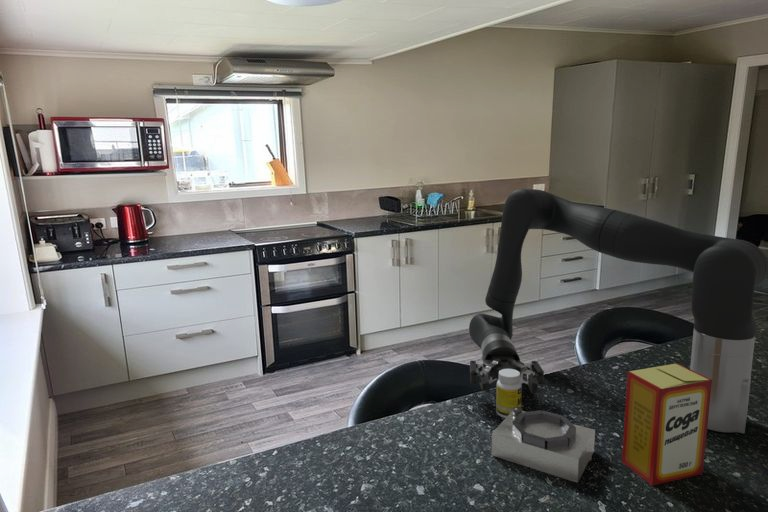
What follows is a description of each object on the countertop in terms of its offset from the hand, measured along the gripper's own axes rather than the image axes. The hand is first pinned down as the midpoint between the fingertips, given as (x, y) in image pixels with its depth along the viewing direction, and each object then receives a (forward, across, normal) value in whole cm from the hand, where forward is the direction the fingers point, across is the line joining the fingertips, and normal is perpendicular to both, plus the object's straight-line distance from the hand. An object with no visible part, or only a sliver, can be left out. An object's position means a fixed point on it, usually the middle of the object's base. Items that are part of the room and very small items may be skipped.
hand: (510, 388), depth 99 cm
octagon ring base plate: (+12, +4, +6) cm, 14 cm away
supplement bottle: (-2, 0, +6) cm, 6 cm away
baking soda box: (+15, +21, +6) cm, 27 cm away
